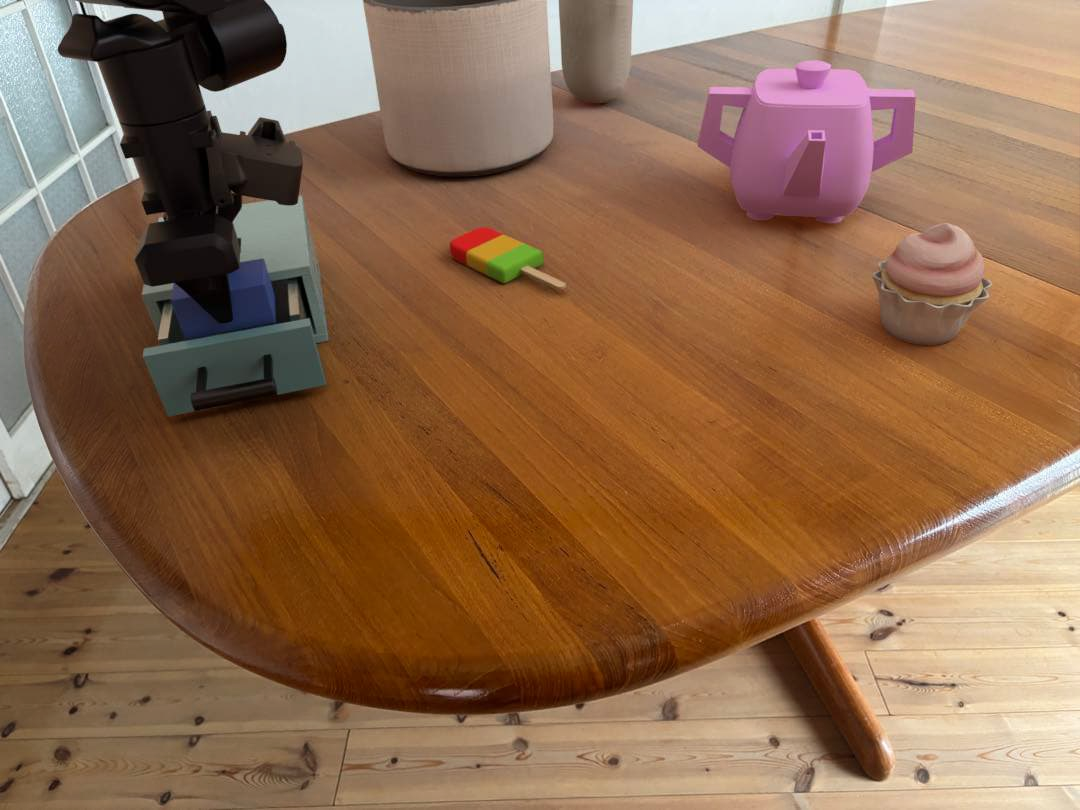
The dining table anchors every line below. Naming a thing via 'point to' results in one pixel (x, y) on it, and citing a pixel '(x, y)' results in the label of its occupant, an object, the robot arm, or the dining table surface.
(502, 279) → the popsicle
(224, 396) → the drawer
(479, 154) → the planter
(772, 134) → the teapot
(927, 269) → the cupcake
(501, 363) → the dining table surface
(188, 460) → the dining table surface
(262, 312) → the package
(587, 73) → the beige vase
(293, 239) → the cabinet
